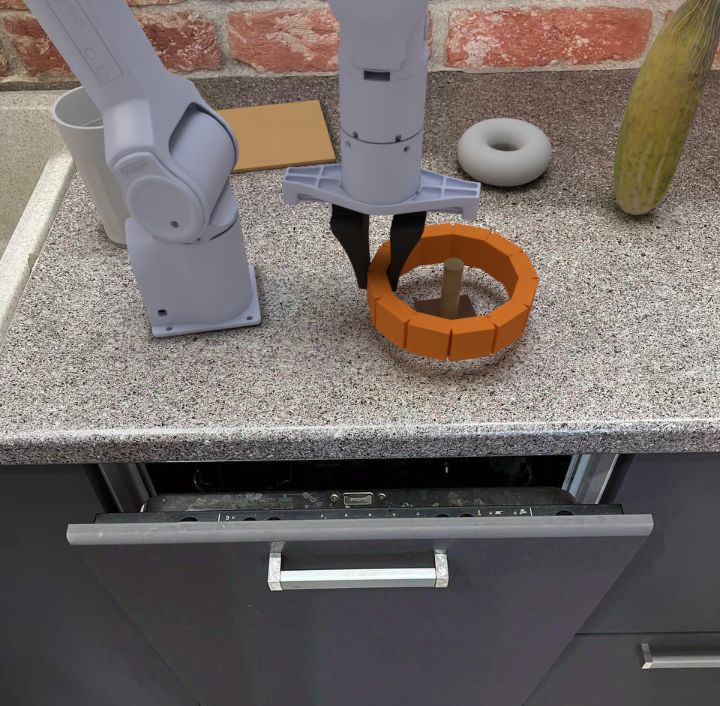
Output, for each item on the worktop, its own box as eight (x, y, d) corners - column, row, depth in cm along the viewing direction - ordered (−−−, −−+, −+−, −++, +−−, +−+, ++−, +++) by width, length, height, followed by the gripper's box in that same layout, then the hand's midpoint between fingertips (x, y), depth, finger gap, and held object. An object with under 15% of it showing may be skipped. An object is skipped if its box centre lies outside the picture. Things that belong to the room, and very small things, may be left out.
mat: (217, 174, 74) (216, 171, 74) (210, 114, 82) (210, 110, 81) (335, 161, 76) (335, 158, 75) (318, 102, 83) (318, 99, 82)
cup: (80, 236, 68) (31, 115, 59) (130, 194, 72) (93, 74, 63) (144, 259, 66) (104, 137, 56) (192, 215, 70) (163, 93, 60)
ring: (386, 371, 54) (387, 343, 52) (356, 262, 62) (355, 233, 59) (551, 348, 55) (560, 319, 53) (502, 244, 63) (507, 215, 60)
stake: (425, 348, 59) (431, 287, 54) (412, 309, 62) (416, 248, 56) (482, 340, 59) (493, 279, 54) (466, 302, 62) (475, 240, 57)
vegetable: (613, 233, 68) (690, 0, 51) (584, 197, 71) (647, -31, 55) (668, 221, 69) (761, -10, 52) (636, 187, 72) (714, -41, 56)
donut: (450, 189, 73) (546, 197, 71) (452, 157, 70) (553, 165, 68) (461, 139, 78) (550, 145, 77) (464, 108, 75) (557, 114, 74)
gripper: (492, 99, 48) (468, 260, 59) (290, 85, 50) (304, 245, 61) (486, 154, 44) (462, 316, 55) (267, 137, 46) (287, 298, 57)
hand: (379, 283), depth 58 cm, fingers closed on ring, 2 cm apart
